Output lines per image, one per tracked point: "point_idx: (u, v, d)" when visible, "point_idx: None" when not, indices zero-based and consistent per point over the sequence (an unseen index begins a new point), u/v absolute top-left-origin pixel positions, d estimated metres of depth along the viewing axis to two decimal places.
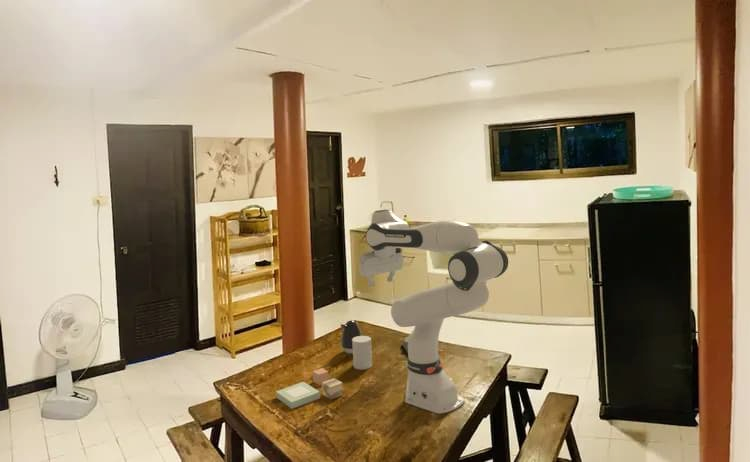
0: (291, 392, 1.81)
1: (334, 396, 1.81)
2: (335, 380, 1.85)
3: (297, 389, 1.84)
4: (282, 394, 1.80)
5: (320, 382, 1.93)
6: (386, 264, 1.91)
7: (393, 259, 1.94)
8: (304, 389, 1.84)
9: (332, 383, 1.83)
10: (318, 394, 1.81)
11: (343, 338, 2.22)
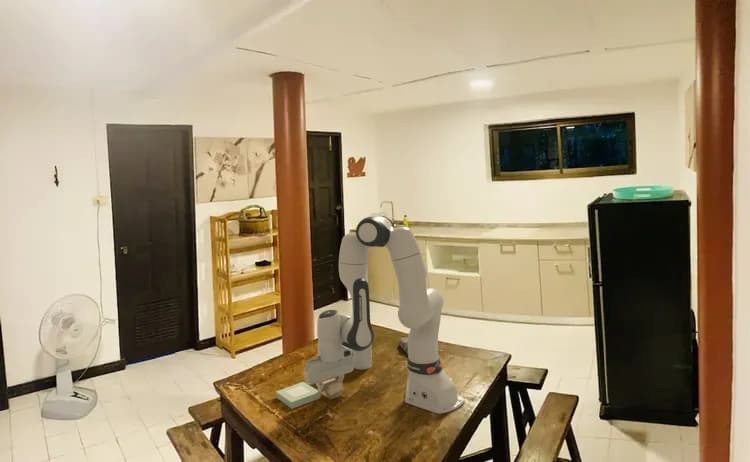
0: (291, 392, 1.81)
1: (334, 396, 1.81)
2: (335, 380, 1.85)
3: (297, 389, 1.84)
4: (282, 394, 1.80)
5: None
6: (334, 368, 1.82)
7: (343, 362, 1.84)
8: (304, 389, 1.84)
9: (332, 383, 1.83)
10: (318, 394, 1.81)
11: None
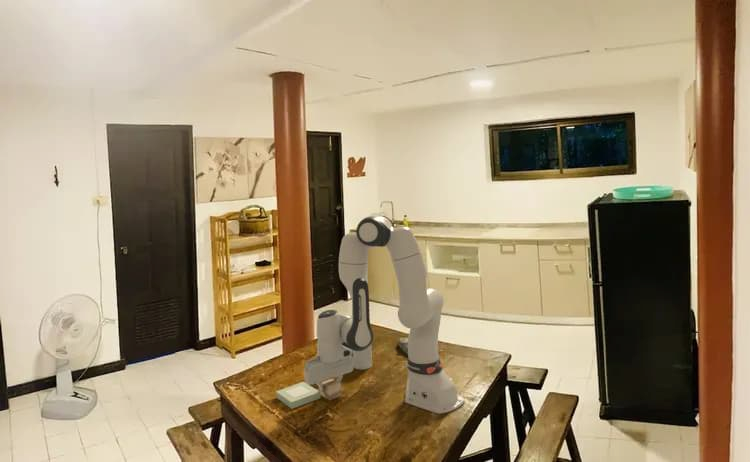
0: (291, 392, 1.81)
1: (333, 397, 1.80)
2: (334, 381, 1.84)
3: (297, 389, 1.84)
4: (282, 394, 1.80)
5: None
6: (334, 369, 1.82)
7: (342, 362, 1.84)
8: (304, 389, 1.84)
9: (331, 383, 1.82)
10: (318, 394, 1.81)
11: None
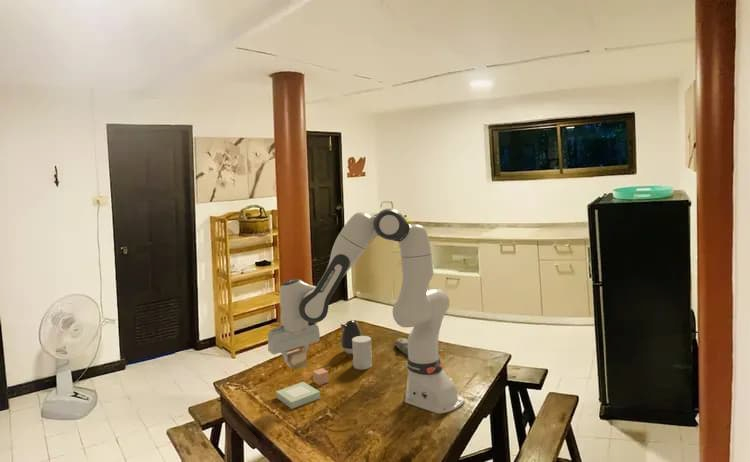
0: (291, 392, 1.81)
1: (297, 366, 1.78)
2: (299, 350, 1.81)
3: (297, 389, 1.84)
4: (282, 394, 1.80)
5: (320, 382, 1.93)
6: (299, 338, 1.79)
7: (307, 332, 1.81)
8: (304, 389, 1.84)
9: (296, 353, 1.79)
10: (318, 394, 1.81)
11: (343, 338, 2.22)
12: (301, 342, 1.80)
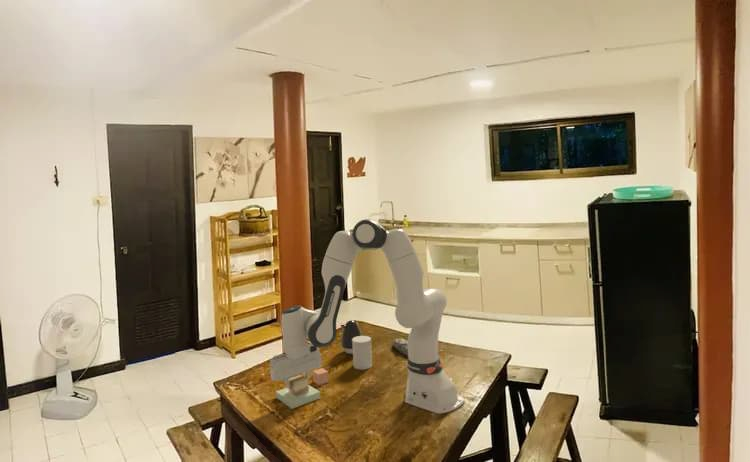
0: None
1: (299, 393, 1.79)
2: (301, 377, 1.83)
3: None
4: (282, 394, 1.80)
5: (320, 382, 1.93)
6: (301, 365, 1.80)
7: (309, 358, 1.82)
8: None
9: (298, 379, 1.81)
10: (318, 394, 1.81)
11: (343, 338, 2.22)
12: (303, 368, 1.81)
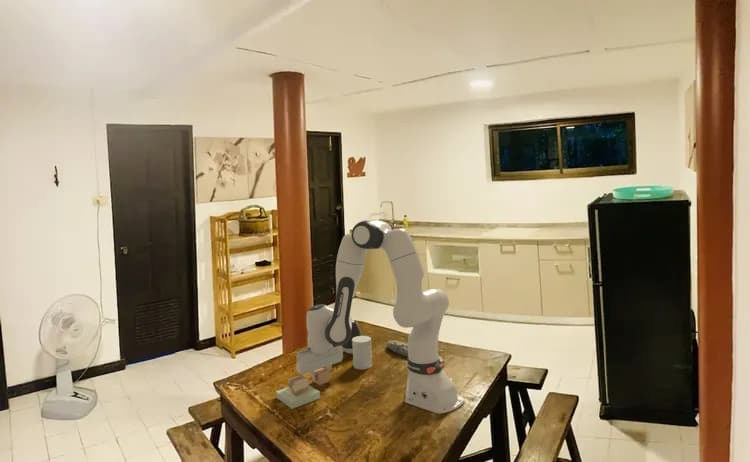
0: None
1: (299, 393, 1.79)
2: (301, 377, 1.83)
3: None
4: (282, 394, 1.80)
5: (320, 382, 1.93)
6: (324, 359, 1.94)
7: (332, 352, 1.96)
8: None
9: (298, 379, 1.81)
10: (318, 394, 1.81)
11: None
12: (326, 362, 1.94)
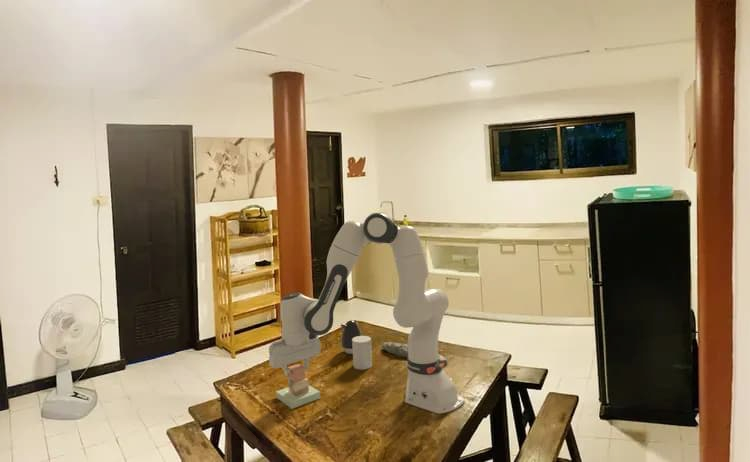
0: None
1: (299, 393, 1.79)
2: None
3: None
4: (282, 394, 1.80)
5: (295, 379, 1.79)
6: (300, 352, 1.79)
7: (308, 345, 1.82)
8: None
9: None
10: (318, 394, 1.81)
11: (343, 338, 2.22)
12: (302, 356, 1.80)
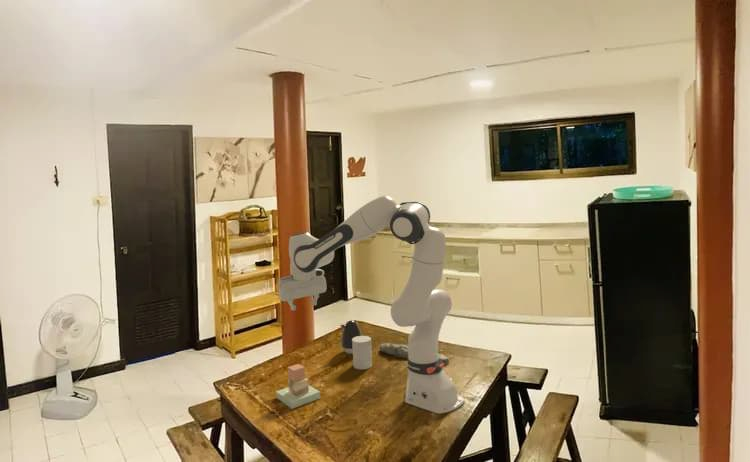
0: None
1: (299, 393, 1.79)
2: None
3: None
4: (282, 394, 1.80)
5: (295, 379, 1.79)
6: (307, 287, 1.90)
7: (315, 282, 1.92)
8: None
9: None
10: (318, 394, 1.81)
11: (343, 338, 2.22)
12: (309, 291, 1.91)
